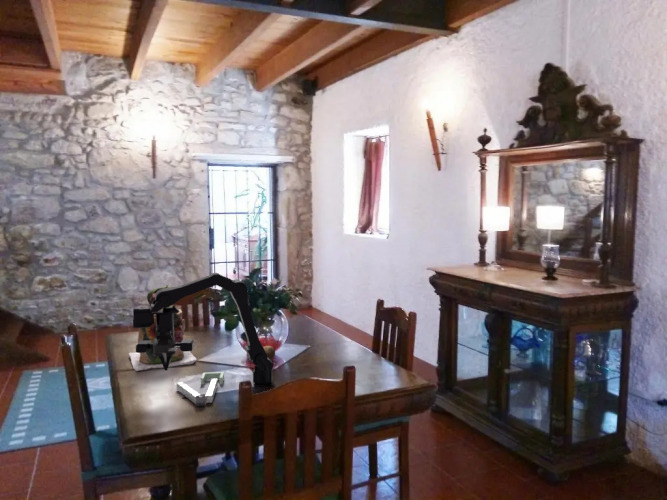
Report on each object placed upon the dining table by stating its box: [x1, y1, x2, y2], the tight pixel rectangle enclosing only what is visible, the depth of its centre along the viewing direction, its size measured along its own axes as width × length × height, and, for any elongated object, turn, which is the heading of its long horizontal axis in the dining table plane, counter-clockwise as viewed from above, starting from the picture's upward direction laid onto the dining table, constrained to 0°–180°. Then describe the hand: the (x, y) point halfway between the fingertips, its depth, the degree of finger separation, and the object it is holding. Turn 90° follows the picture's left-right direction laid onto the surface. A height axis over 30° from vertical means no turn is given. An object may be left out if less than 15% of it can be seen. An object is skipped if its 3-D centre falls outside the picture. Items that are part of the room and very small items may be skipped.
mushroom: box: [263, 345, 276, 361], centre depth 224 cm, size 8×8×6 cm
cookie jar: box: [128, 283, 197, 372], centre depth 222 cm, size 25×25×32 cm
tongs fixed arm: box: [205, 379, 219, 404], centre depth 185 cm, size 2×16×2 cm, turn 6°
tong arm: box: [176, 381, 206, 407], centre depth 182 cm, size 3×20×3 cm, turn 38°
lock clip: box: [200, 371, 225, 386], centre depth 197 cm, size 8×6×2 cm
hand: (166, 370), depth 184 cm, fingers closed
